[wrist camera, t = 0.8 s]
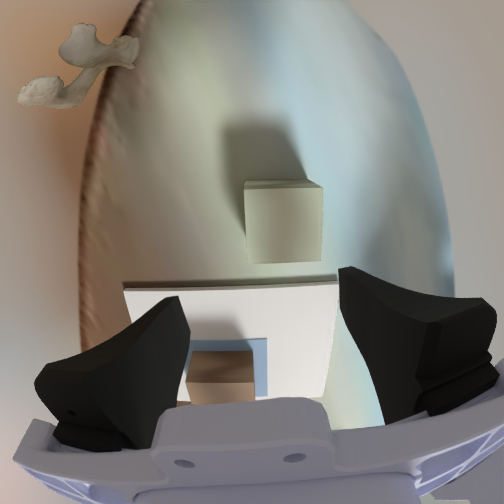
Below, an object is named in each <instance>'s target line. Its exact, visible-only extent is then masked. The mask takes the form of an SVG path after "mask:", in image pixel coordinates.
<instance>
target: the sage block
mask: <svg viewBox="0 0 504 504" xmlns="http://www.w3.org/2000/svg"><path fill="white" fill-rule="evenodd" d="M244 205H245V226H246V246H247V264H268V263H290V262H311V261H321V246H322V220H323V188H322V187H321V186H319V185H317V184H315V183H314V182H312V181H310V180H308V179H277V180H248V181H245V184H244Z"/></svg>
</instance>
